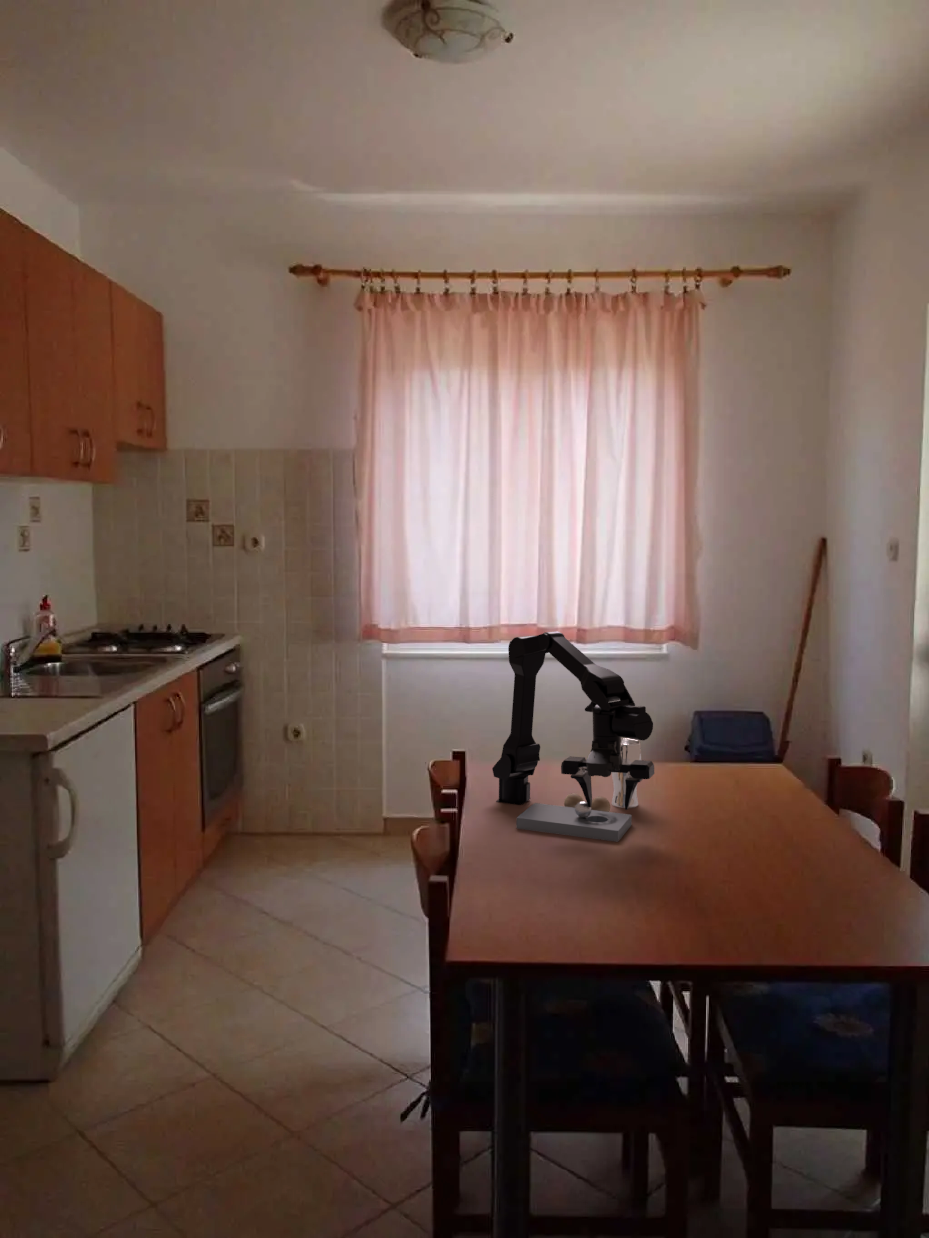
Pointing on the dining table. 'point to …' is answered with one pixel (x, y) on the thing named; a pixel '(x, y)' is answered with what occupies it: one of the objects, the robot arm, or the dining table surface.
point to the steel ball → (582, 809)
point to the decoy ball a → (572, 800)
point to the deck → (574, 822)
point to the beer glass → (629, 755)
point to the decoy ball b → (600, 804)
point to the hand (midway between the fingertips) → (608, 807)
